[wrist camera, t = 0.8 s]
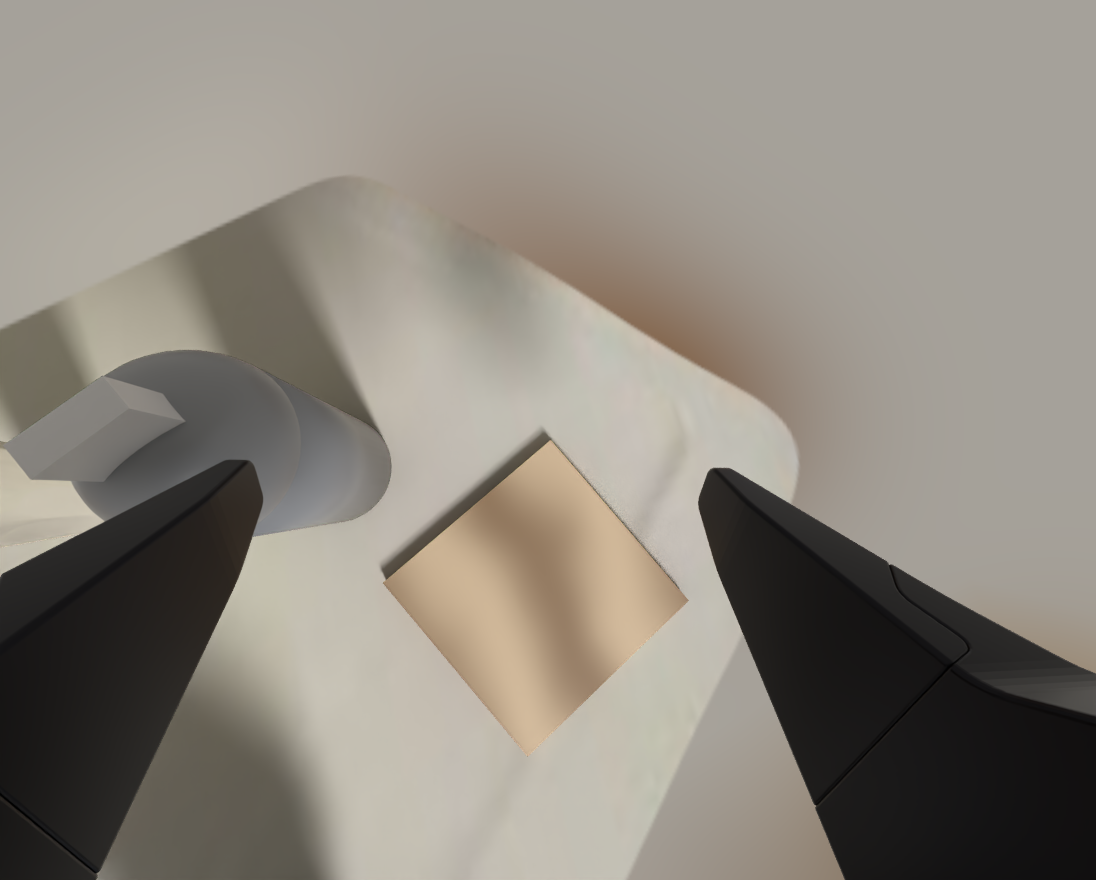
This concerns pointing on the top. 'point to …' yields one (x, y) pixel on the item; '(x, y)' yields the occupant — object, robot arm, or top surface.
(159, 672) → the robot arm
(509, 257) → the top surface
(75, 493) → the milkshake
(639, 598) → the cork mat
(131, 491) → the grey bottle
